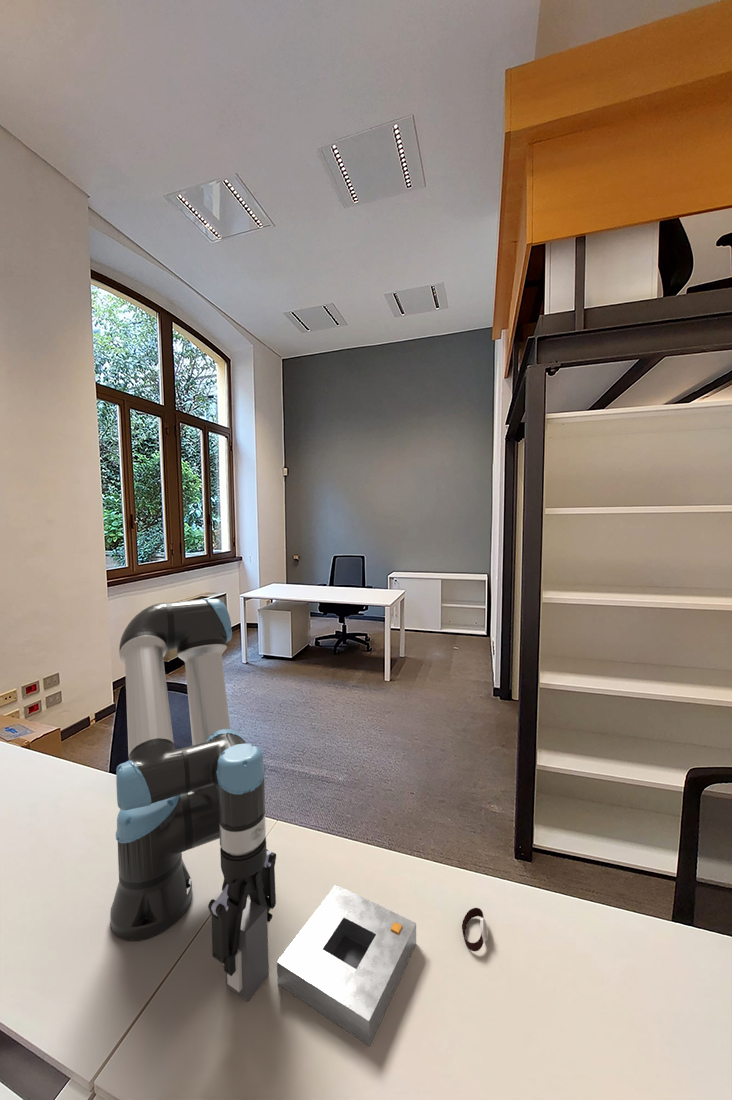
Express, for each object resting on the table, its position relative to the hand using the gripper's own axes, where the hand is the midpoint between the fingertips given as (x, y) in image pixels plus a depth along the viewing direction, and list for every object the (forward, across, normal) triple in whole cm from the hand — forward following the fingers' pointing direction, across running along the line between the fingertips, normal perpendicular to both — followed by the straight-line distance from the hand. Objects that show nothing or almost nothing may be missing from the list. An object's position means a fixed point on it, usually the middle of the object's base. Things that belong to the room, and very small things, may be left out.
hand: (247, 970), depth 73 cm
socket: (+2, +11, -14) cm, 18 cm away
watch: (+2, +27, -32) cm, 42 cm away
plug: (+2, 0, 0) cm, 2 cm away
